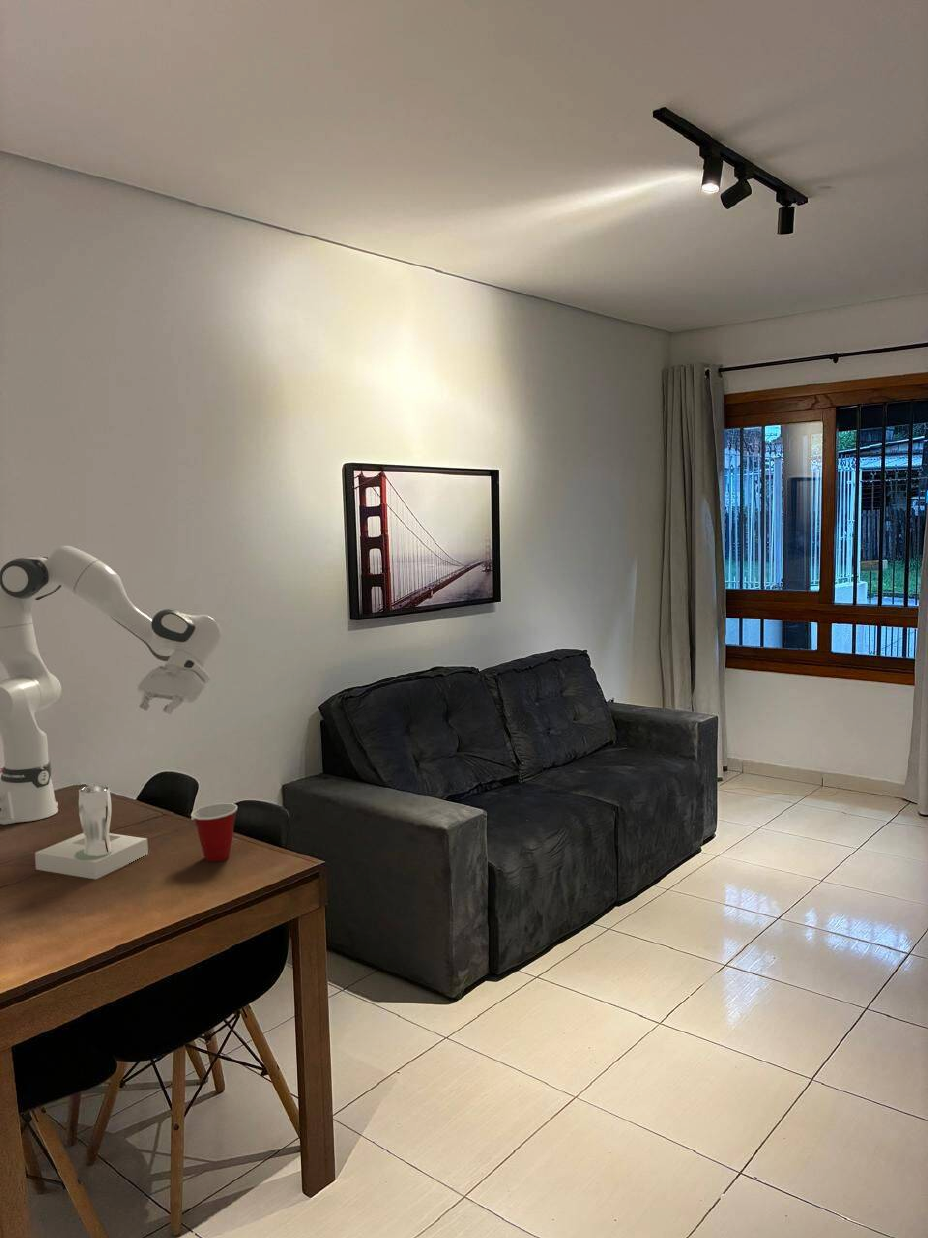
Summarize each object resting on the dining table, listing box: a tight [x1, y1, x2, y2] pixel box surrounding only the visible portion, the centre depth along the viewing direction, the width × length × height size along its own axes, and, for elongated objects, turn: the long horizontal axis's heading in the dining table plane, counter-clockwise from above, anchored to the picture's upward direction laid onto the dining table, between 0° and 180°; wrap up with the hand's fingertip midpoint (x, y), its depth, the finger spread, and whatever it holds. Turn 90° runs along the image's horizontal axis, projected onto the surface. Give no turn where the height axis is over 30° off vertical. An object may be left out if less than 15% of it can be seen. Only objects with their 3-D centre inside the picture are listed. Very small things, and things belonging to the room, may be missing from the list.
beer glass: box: [78, 784, 112, 857], centre depth 214 cm, size 7×7×15 cm
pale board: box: [34, 832, 149, 880], centre depth 221 cm, size 18×17×4 cm
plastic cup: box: [190, 802, 238, 863], centre depth 222 cm, size 11×11×12 cm
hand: (154, 710), depth 242 cm, fingers open, 8 cm apart
